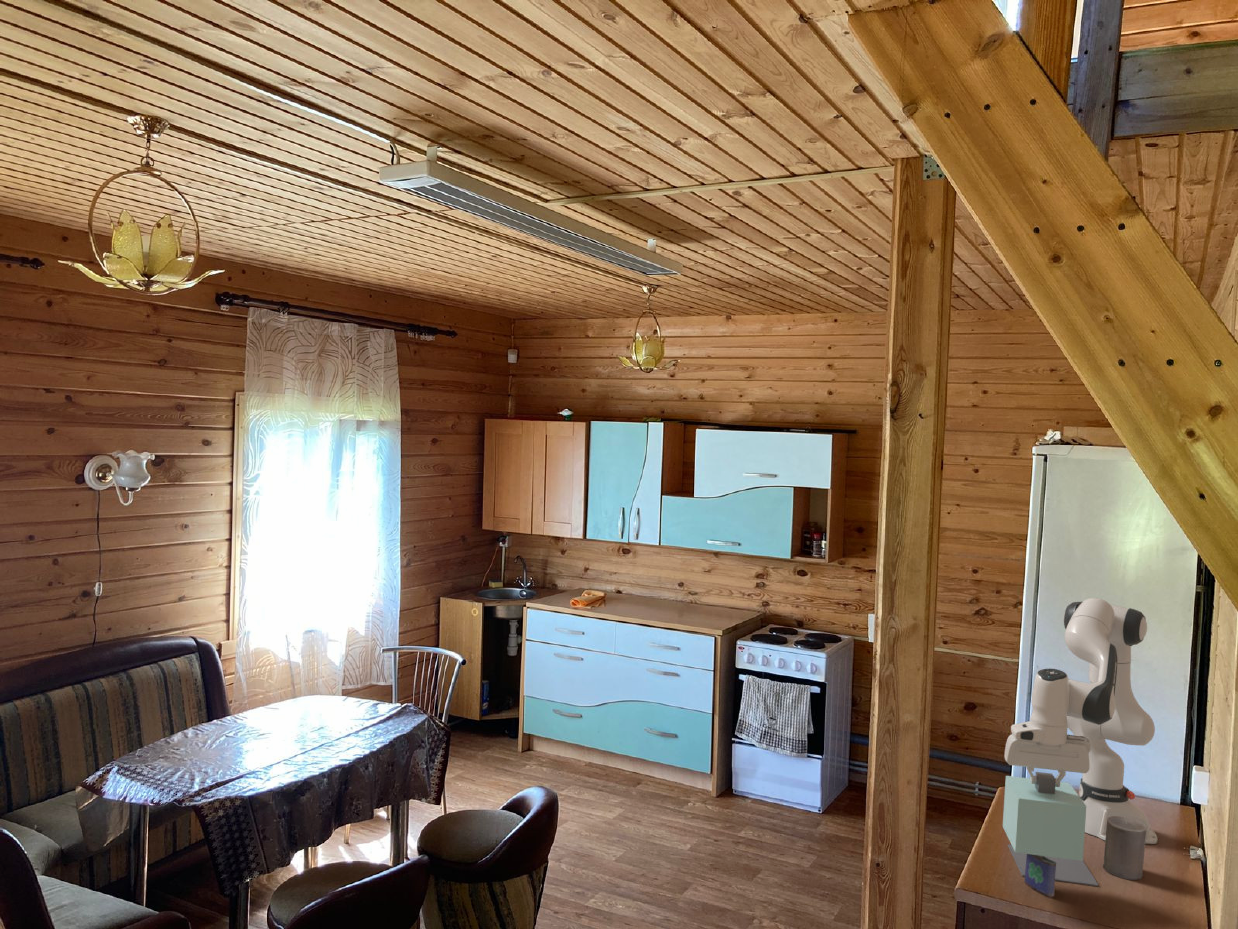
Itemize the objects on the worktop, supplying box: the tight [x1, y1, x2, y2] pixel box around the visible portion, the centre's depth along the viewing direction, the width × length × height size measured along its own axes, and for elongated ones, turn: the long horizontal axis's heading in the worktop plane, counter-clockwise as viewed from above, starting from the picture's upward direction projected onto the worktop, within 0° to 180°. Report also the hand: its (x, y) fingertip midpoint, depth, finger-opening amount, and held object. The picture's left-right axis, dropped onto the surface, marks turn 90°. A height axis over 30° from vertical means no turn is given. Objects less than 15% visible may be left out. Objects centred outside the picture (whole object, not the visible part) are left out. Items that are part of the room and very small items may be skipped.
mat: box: [1007, 844, 1100, 887], centre depth 258 cm, size 19×19×1 cm
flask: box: [1023, 854, 1056, 899], centre depth 243 cm, size 9×3×11 cm, turn 20°
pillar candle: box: [1102, 816, 1146, 881], centre depth 255 cm, size 10×10×15 cm
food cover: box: [1002, 771, 1087, 861], centre depth 242 cm, size 16×16×18 cm
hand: (1044, 785), depth 242 cm, fingers closed on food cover, 4 cm apart
